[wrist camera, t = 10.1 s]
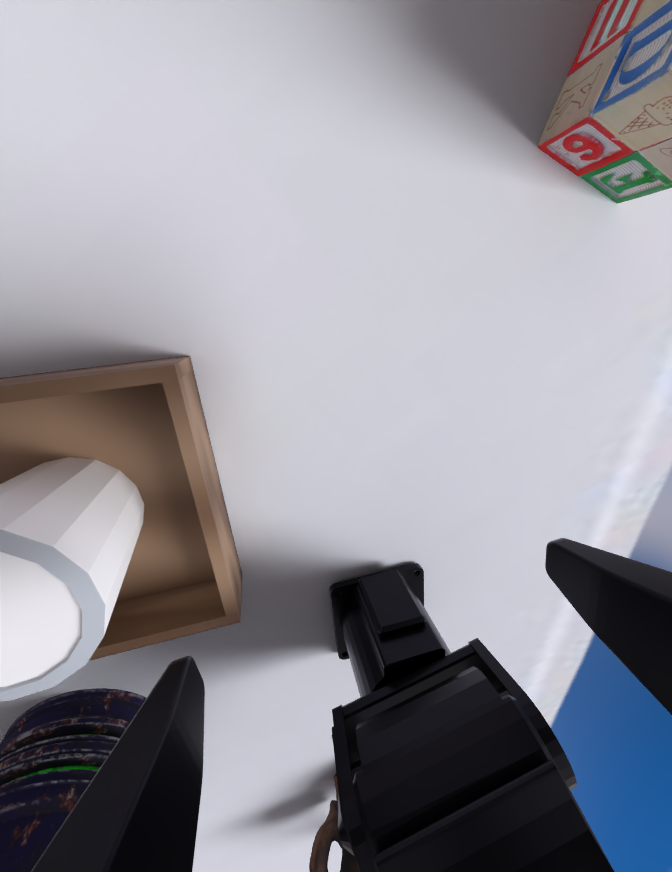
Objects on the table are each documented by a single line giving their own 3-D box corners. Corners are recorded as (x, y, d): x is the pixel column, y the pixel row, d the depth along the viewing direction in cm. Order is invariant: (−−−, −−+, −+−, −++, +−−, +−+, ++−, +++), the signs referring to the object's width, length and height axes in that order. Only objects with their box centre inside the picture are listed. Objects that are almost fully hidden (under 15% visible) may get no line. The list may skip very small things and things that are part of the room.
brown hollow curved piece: (413, 715, 30) (483, 841, 25) (394, 726, 37) (446, 828, 32) (286, 815, 25) (341, 994, 21) (290, 807, 32) (332, 941, 27)
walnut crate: (242, 575, 21) (239, 621, 18) (-6, 632, 19) (-61, 698, 15) (190, 356, 16) (174, 365, 13) (-147, 395, 14) (-265, 418, 11)
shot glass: (59, 588, 18) (-48, 739, 12) (-41, 483, 15) (-251, 600, 9) (183, 531, 19) (147, 644, 12) (106, 420, 16) (9, 489, 10)
